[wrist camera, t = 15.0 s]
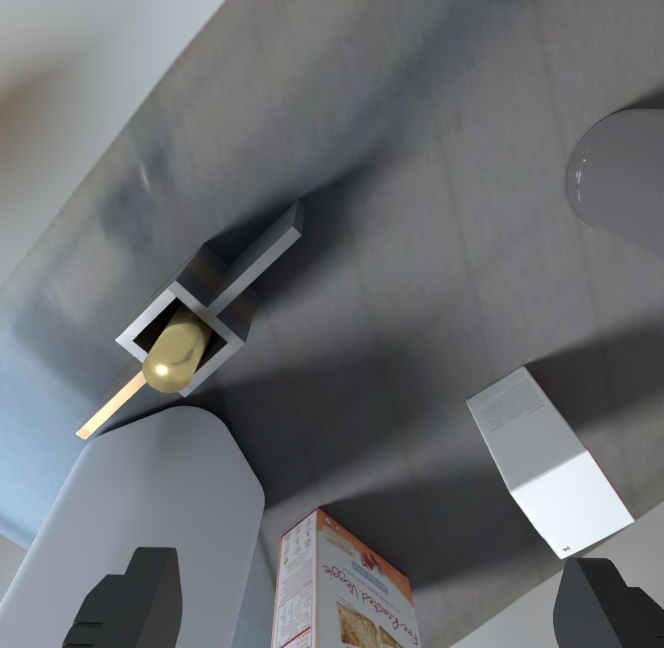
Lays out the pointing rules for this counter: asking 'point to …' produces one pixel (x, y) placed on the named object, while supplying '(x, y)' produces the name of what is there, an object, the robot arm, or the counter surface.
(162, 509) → the plastic bottle
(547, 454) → the small box
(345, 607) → the cracker box
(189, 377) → the hinge pin
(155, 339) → the hinge
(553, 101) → the counter surface
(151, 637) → the robot arm
